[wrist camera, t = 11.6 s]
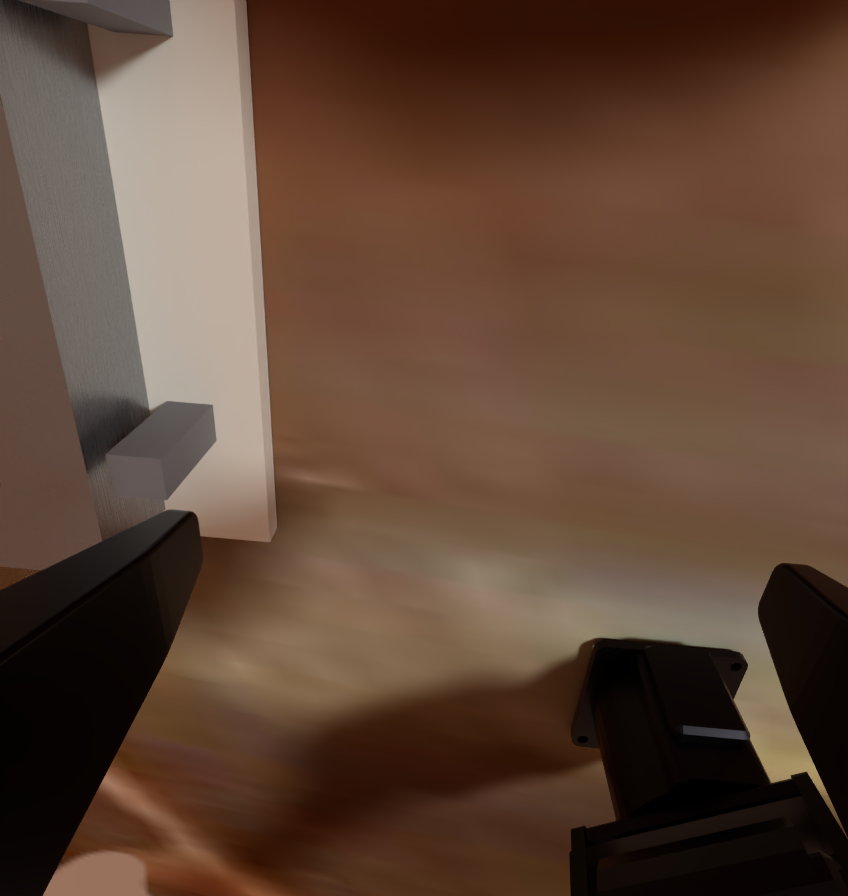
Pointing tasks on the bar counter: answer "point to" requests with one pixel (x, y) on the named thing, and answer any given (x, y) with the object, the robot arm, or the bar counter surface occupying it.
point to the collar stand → (188, 254)
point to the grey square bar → (60, 301)
